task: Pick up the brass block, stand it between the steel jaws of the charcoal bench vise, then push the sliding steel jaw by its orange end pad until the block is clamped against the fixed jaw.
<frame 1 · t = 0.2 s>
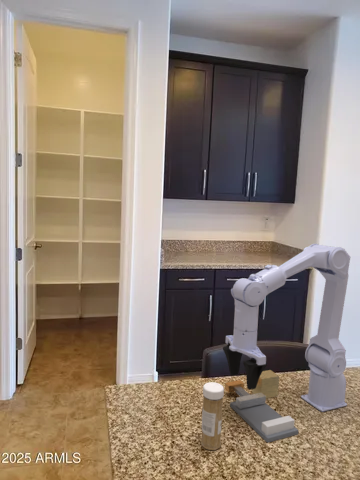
hand: (242, 381, 89), 10 cm above the countertop, tool pointing down, fingers open, 7 cm apart
sprinkles bottle: (210, 445, 79), on the countertop
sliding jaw: (242, 393, 98), point 2 cm above the countertop, slide at 0.0 cm
vise base: (262, 419, 90), on the countertop
brass block: (264, 394, 102), on the countertop
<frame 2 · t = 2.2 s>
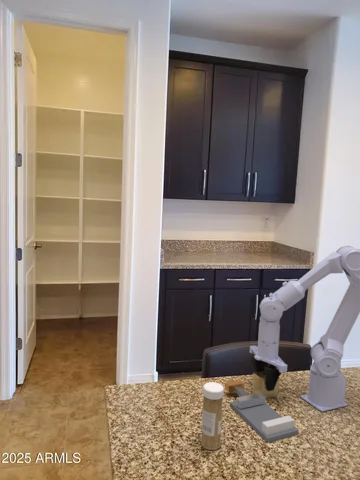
hand: (265, 386, 102), 2 cm above the countertop, tool pointing down, fingers closed on brass block, 4 cm apart
brass block: (264, 394, 102), on the countertop, touching gripper
everything else where it was.
when the fingers open (4 cm above the countertop, at t = 6.5 s): brass block stays where it is, resting on vise base.
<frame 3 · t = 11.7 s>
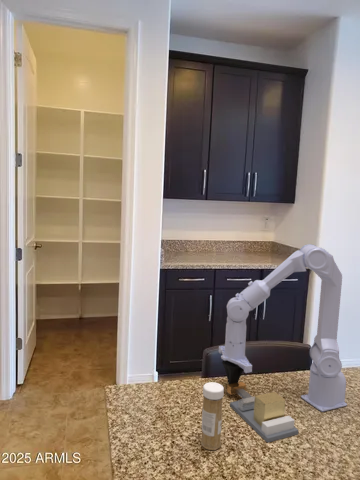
hand: (232, 386, 102), 2 cm above the countertop, tool pointing down, fingers closed
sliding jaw: (244, 395, 97), point 2 cm above the countertop, slide at 1.1 cm, touching gripper
brass block: (268, 421, 87), point 1 cm above the countertop, touching vise base
everything else where it was.
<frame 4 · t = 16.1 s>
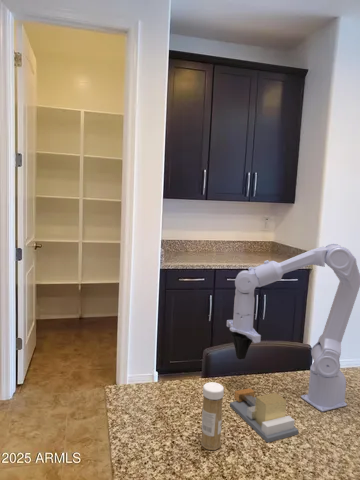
hand: (240, 358, 104), 9 cm above the countertop, tool pointing down, fingers closed
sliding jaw: (253, 402, 93), point 2 cm above the countertop, slide at 5.0 cm
everything else where it was.
at the end: brass block 0.3 cm from the target spot, point 1.0 cm above the countertop; brass block tilted 0°; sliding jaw slide at 5.0 cm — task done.
